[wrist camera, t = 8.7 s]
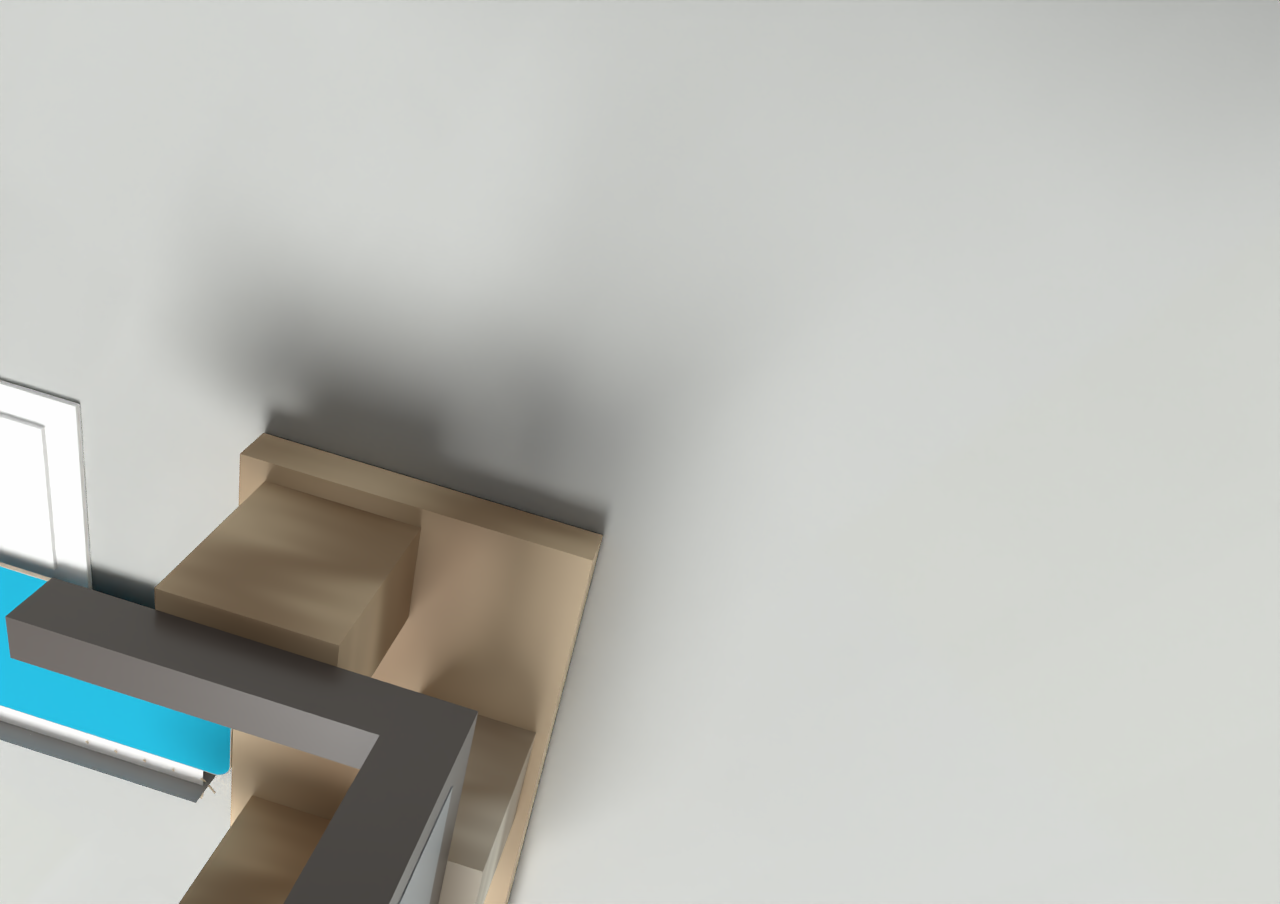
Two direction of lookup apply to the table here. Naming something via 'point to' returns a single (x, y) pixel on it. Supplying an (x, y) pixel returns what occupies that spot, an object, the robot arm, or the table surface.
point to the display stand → (386, 647)
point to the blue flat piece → (59, 547)
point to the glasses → (281, 729)
